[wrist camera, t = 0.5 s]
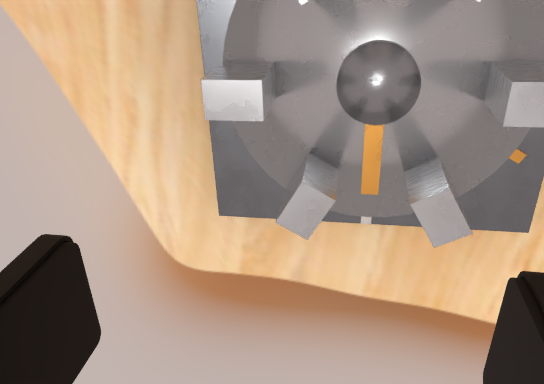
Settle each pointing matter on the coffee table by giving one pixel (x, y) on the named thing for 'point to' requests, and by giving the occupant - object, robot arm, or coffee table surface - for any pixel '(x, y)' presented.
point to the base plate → (268, 196)
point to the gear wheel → (380, 101)
